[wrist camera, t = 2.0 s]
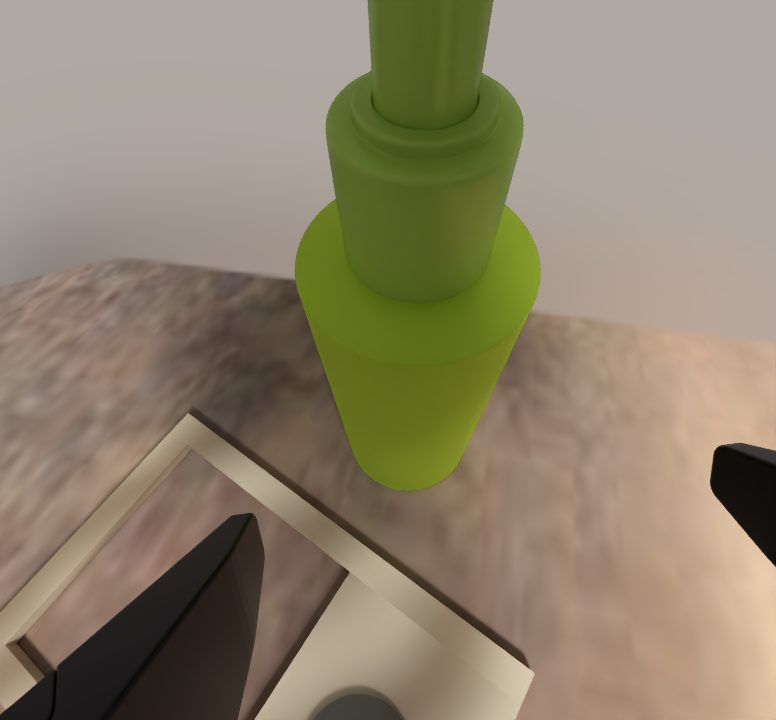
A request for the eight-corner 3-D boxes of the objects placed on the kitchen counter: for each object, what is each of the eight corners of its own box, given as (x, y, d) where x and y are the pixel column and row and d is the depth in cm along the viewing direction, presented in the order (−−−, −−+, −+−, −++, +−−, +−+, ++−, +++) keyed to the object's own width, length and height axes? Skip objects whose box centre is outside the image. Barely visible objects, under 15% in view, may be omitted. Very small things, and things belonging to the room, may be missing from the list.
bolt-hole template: (530, 670, 17) (537, 674, 16) (343, 1102, 12) (339, 1136, 12) (192, 417, 23) (185, 410, 22) (-27, 652, 18) (-47, 655, 17)
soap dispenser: (487, 498, 20) (1075, -106, 3) (342, 485, 21) (16, -107, 3) (485, 385, 23) (769, -285, 5) (357, 376, 23) (229, -272, 6)
